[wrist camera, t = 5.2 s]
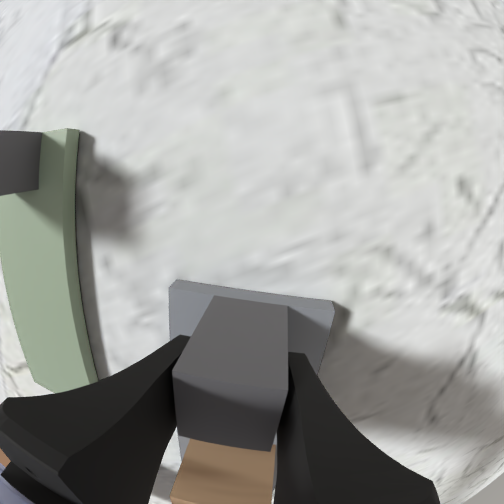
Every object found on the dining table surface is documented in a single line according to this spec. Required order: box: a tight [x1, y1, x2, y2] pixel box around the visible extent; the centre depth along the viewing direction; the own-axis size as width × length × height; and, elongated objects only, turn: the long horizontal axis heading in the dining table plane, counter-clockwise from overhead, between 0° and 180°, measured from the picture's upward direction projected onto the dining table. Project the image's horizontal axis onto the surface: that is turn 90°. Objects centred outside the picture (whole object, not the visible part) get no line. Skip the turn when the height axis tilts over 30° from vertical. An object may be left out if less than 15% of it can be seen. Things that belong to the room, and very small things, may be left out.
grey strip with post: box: [169, 280, 335, 492], centre depth 12 cm, size 18×7×6 cm, turn 174°
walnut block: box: [170, 439, 276, 504], centre depth 12 cm, size 5×5×5 cm
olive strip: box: [0, 128, 98, 393], centre depth 11 cm, size 18×7×6 cm, turn 174°
